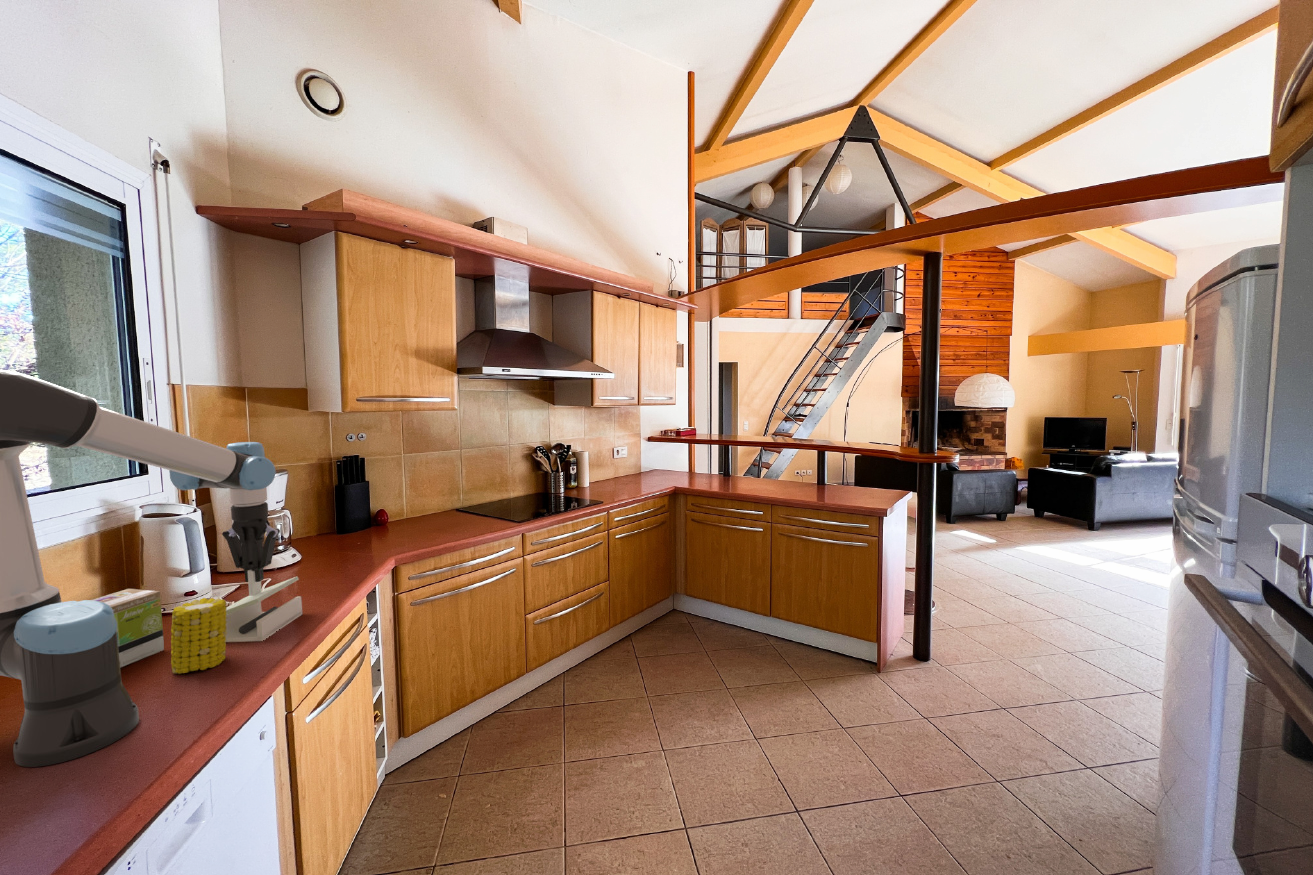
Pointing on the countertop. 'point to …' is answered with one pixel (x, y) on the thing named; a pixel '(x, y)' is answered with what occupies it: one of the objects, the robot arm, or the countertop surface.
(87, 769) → the countertop surface
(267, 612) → the dark grey rod
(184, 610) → the food
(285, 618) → the cable duct
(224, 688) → the countertop surface
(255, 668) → the countertop surface
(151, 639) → the tea box
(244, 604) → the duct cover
